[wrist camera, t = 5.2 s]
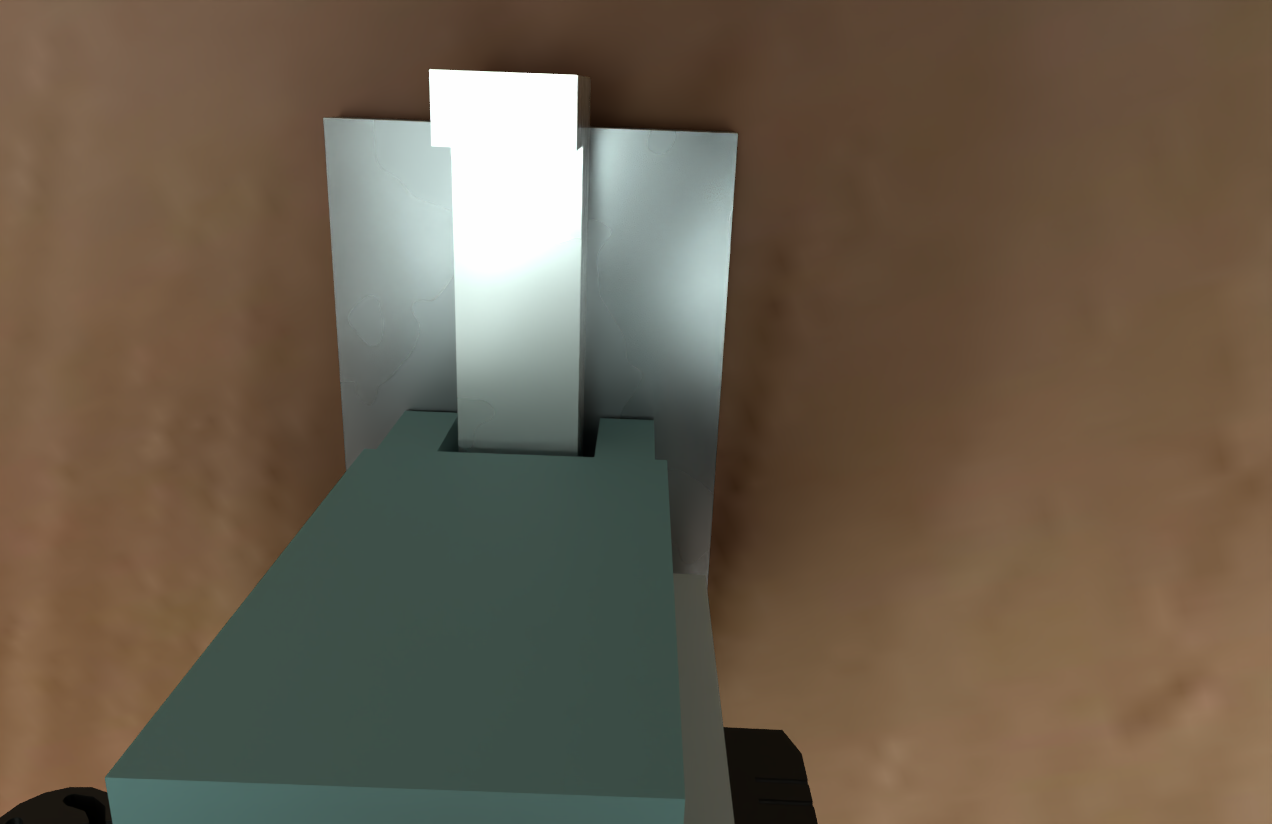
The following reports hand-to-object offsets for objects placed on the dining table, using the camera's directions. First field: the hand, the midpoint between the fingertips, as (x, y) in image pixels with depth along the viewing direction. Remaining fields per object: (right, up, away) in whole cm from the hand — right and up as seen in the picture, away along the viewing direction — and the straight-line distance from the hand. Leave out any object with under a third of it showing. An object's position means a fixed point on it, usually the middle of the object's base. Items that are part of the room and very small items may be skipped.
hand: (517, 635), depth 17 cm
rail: (0, 0, +3) cm, 3 cm away
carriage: (0, +1, +3) cm, 3 cm away
